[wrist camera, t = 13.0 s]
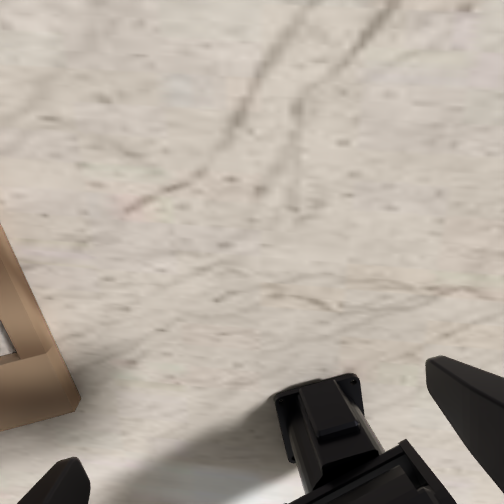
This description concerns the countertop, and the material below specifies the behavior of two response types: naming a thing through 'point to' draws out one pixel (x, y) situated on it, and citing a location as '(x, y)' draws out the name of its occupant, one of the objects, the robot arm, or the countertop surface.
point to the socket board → (29, 354)
